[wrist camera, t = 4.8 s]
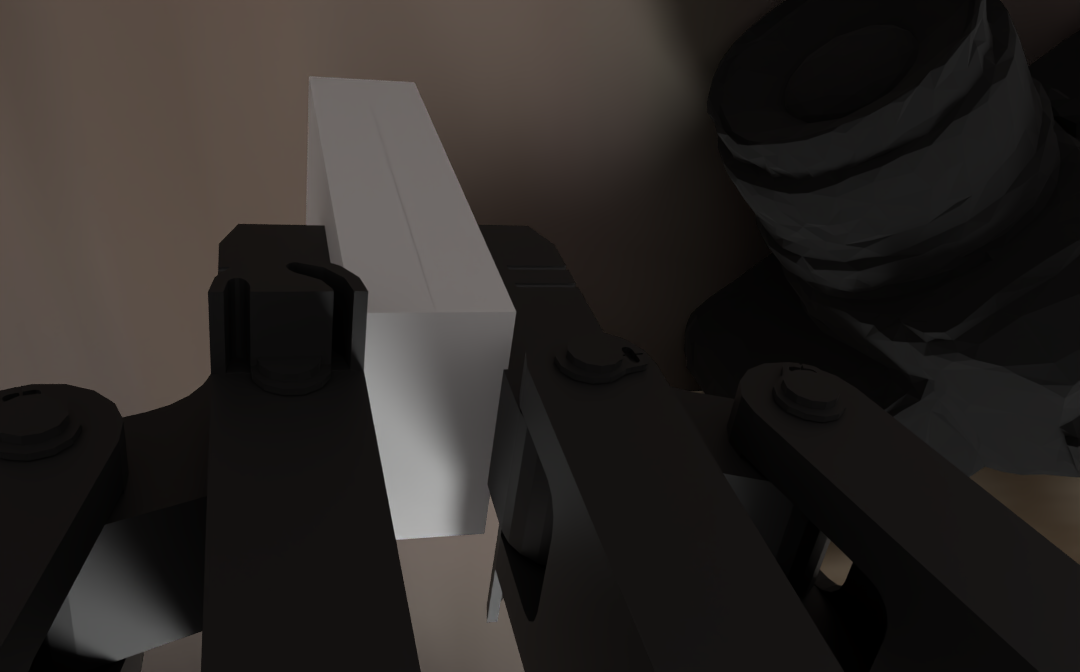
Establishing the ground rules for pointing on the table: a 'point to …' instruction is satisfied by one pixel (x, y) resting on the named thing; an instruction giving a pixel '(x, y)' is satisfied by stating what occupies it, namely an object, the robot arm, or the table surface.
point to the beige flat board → (1040, 500)
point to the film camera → (908, 221)
